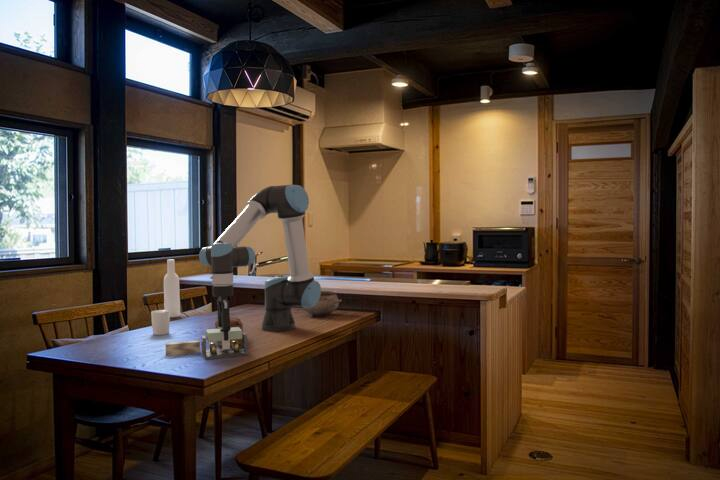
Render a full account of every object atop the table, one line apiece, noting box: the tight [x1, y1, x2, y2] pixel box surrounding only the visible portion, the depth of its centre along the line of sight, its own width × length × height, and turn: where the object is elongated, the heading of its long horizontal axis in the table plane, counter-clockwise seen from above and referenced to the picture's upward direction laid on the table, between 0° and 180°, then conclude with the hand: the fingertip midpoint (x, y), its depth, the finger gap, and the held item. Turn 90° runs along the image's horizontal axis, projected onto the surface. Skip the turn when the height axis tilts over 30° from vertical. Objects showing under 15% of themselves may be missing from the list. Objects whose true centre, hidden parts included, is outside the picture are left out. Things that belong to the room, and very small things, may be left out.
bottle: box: [163, 258, 181, 318], centre depth 305 cm, size 8×8×30 cm
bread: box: [214, 316, 244, 347], centre depth 235 cm, size 19×11×10 cm, turn 14°
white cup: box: [150, 309, 171, 336], centre depth 257 cm, size 8×8×10 cm
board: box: [205, 327, 242, 343], centre depth 213 cm, size 12×8×3 cm, turn 111°
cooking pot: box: [302, 289, 343, 318], centre depth 298 cm, size 25×19×12 cm
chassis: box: [200, 331, 249, 361], centre depth 213 cm, size 16×12×7 cm
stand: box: [165, 340, 201, 357], centre depth 216 cm, size 12×3×4 cm, turn 111°
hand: (224, 346), depth 213 cm, fingers closed on board, 8 cm apart
